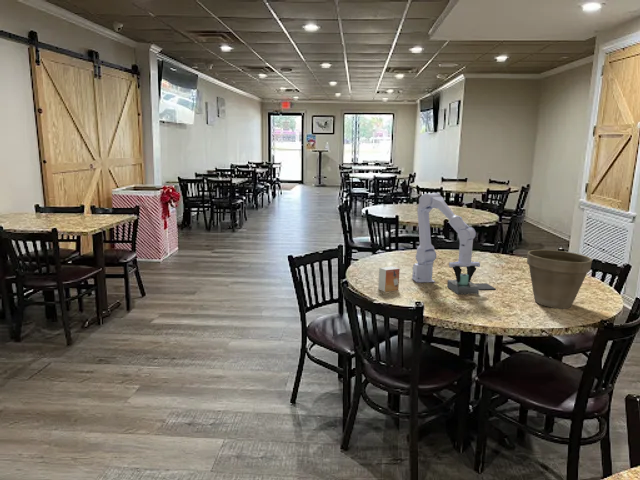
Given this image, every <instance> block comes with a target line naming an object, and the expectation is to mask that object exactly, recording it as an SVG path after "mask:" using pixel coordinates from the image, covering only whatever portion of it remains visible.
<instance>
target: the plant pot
mask: <svg viewBox="0 0 640 480" xmlns="http://www.w3.org/2000/svg"><path fill="white" fill-rule="evenodd" d="M526 253H527V256H526V264H527V265H528V266H529V273H530V281H531V286H532V287H531V288H532V293H533V294H532V295H533V299H534V301H535V303H537V304H539V305H542V306H543V307H544V306H545V307H548V308H553V309H568V308H571V307H572V305H573V304H574V302H575V299H576V297H577V296H578V293H579V291H580V289H581V287H582V284H583V283H584V280H585V278H586V276H587V275H588V274H587V273H589V272H590V271H591V268H592V263H593V259H592V258H591V257H589V256H586V255H583V254H580V253H576V252H575V253H574V252H570V251H564V250H563V251H562V250H554V249H533V250H532V249H531V250H529V251H528V252H526Z"/></svg>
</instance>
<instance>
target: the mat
mask: <svg viewBox="0 0 640 480" xmlns="http://www.w3.org/2000/svg"><path fill="white" fill-rule="evenodd" d="M475 284H476V285H477V286H479V291H495V290H496V287H494V286H492V285H491V284H489V283H487V282H486V283H475Z"/></svg>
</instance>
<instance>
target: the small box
mask: <svg viewBox="0 0 640 480" xmlns="http://www.w3.org/2000/svg"><path fill="white" fill-rule="evenodd" d="M400 270H401V269H400V268H399V267H395V266H393V265H392V266H384V267H379V268H378V285H377V288H378V290H380V291H382V292H384V293H386V292H395V291H399V284H400Z"/></svg>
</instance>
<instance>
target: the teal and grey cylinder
mask: <svg viewBox="0 0 640 480" xmlns="http://www.w3.org/2000/svg"><path fill="white" fill-rule="evenodd" d="M468 278H469V275H467V273H461V275H460V282H458V284H461V285H468Z"/></svg>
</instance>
